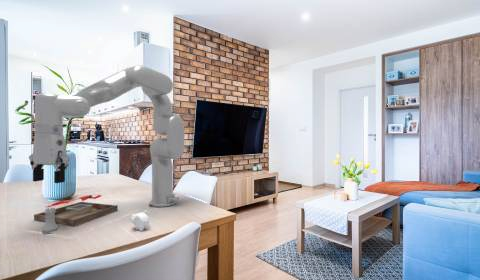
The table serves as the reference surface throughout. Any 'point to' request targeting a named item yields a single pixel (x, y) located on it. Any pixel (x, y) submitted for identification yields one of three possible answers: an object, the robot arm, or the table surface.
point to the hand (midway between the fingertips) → (48, 181)
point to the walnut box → (75, 220)
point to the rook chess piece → (49, 221)
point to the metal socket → (79, 209)
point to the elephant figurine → (140, 220)
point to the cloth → (83, 198)
